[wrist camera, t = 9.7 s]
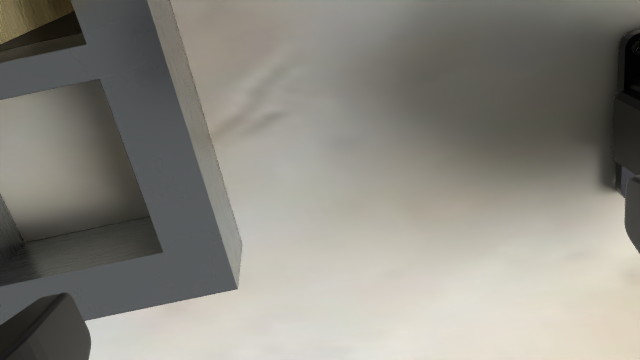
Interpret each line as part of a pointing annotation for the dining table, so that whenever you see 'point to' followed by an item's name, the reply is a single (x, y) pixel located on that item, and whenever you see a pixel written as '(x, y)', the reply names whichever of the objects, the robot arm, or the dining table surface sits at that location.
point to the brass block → (29, 15)
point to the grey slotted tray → (148, 165)
